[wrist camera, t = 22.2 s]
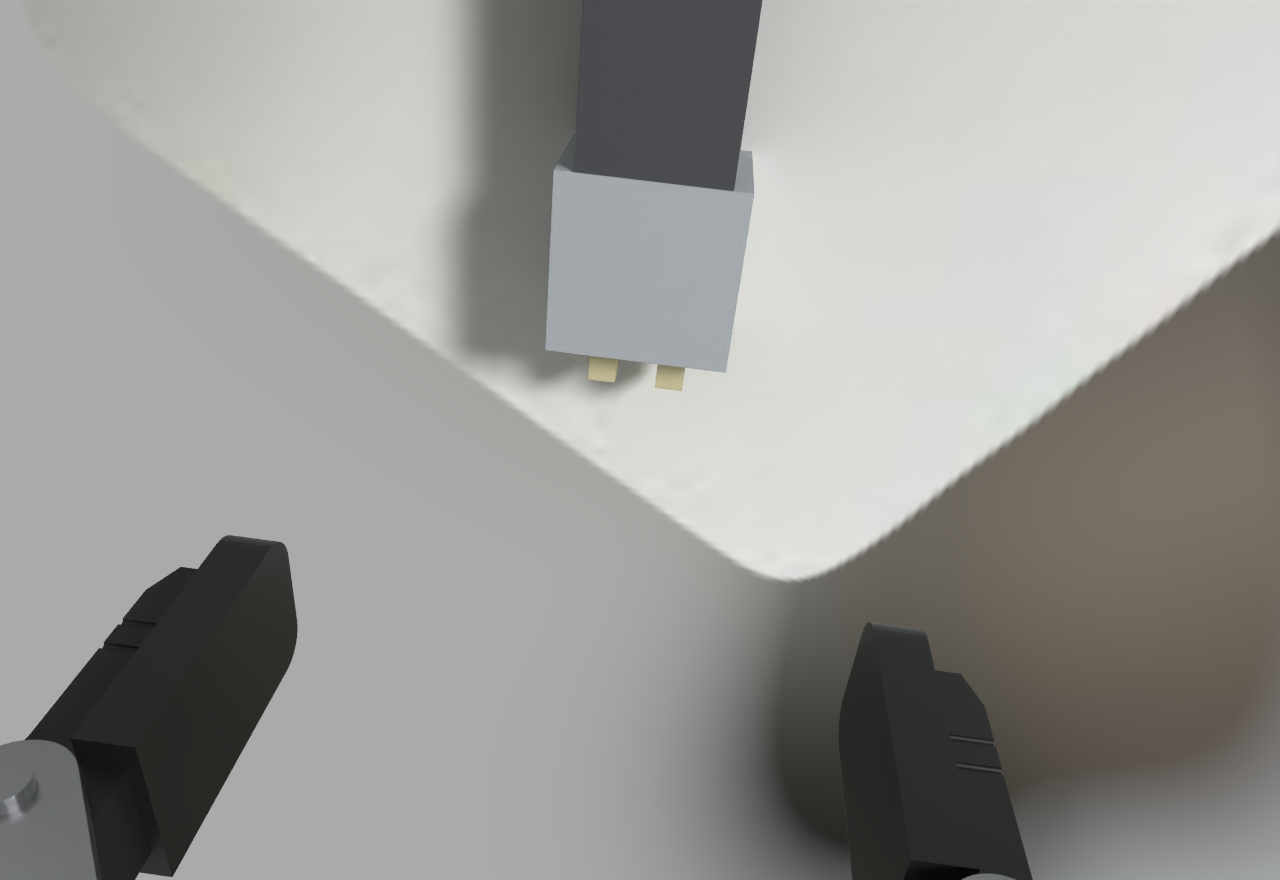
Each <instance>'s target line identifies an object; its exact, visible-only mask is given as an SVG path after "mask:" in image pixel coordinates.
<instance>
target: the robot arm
mask: <svg viewBox="0 0 1280 880" xmlns="http://www.w3.org/2000/svg"><path fill="white" fill-rule="evenodd" d="M296 639H297V617H296V610H295V602H294V595H293V587H292V580H291V573H290V565H289V558H288V552H287V549H286V547H285V545H284V544H283V543H281V542H276V541H269V540H261V539H254V538H245V537H239V536H231V535H228V536H225V537H223V538H222V539H221V540H220V541H219V542H218V543H217V544H216V546H215V547H214V548H213V550H212V551H211V552H210V554H209V555H208V556H207V558H206V559H205V560H204V562H203V563H202V564H201V566H200V567H199V568H198V569H192V568H185V567H180V568H179V569H177V570H176V571H174V572H172V573H171V574H169V575H168V576H166V577H165V578H163V579H162V580H160V581H159V582H157V583H156V584H154V585H153V586H151V587H150V588H148V589H147V590H146V591H145V592H144V593H143V594H142V595H141V597H140V598H139V599H138V601H137V602H136V603H135V604H134V605H133V607H132V608H131V609H130V610H129V612H128V613H127V614H126V615H125V617H124V618H123V622H122V624H121V625H117V627H116V628H115V629H114V630H113V632H112V633H111V634H110V635H109V637H108V638H107V639H106V640H105V642H104V646H103V648H102V649H101V648H99V649H98V650H97V652H96V653H95V654H94V655H93V657H92V658H91V659H90V660H89V661H88V663H87V664H86V665H85V666H84V668H83V669H82V670H81V672H80V673H79V674H78V675H77V676H76V678H75V679H74V680H73V681H72V683H71V684H70V685H69V686H68V688H67V689H66V690H65V691H64V693H63V694H62V695H61V696H60V698H59V699H58V700H57V701H56V703H55V704H54V705H53V706H52V708H51V709H50V710H49V711H48V713H47V714H46V715H45V717H44V718H43V719H42V720H41V721H40V722H39V724H38V725H37V726H36V728H35V729H34V730H33V731H32V733H31V734H30V735H29V736H28V737H27V738H26V739H25V740H23V741H17V742H12V743H8V744H4V745H1V746H0V880H135V879H136V877H137V875H138V874H139V872H141V873H148V874H155V875H162V876H169V877H173V875H174V873H175V871H176V869H177V868H178V866H179V864H180V862H181V861H182V859H183V857H184V855H185V853H186V852H187V850H188V848H189V846H190V844H191V842H192V841H193V839H194V837H195V835H196V833H197V831H198V830H199V828H200V826H201V824H202V823H203V821H204V819H205V817H206V815H207V814H208V812H209V810H210V808H211V806H212V804H213V803H214V801H215V799H216V797H217V796H218V794H219V792H220V790H221V788H222V787H223V785H224V783H225V781H226V779H227V778H228V776H229V774H230V772H231V770H232V769H233V767H234V765H235V763H236V761H237V759H238V758H239V756H240V754H241V752H242V750H243V749H244V747H245V745H246V743H247V741H248V740H249V738H250V736H251V734H252V732H253V730H254V729H255V727H256V725H257V723H258V722H259V720H260V718H261V716H262V714H263V713H264V711H265V709H266V707H267V705H268V704H269V701H270V700H271V698H272V696H273V694H274V693H275V691H276V689H277V687H278V685H279V684H280V682H281V680H282V678H283V676H284V675H285V673H286V671H287V669H288V667H289V665H290V662H291V660H292V657H293V654H294V649H295V645H296ZM993 742H994V739H993V735H992V731H991V728H990V724H989V720H988V717H987V713H986V710H985V706H984V704H983V703H982V702H981V700H980V699H979V698H978V697H977V695H976V694H975V693H974V691H973V690H972V688H971V687H970V686H969V684H968V683H967V682H966V681H965V679H964V678H963V676H962V675H961V674H958V673H950V672H943V671H935V669H934V664H933V660H932V656H931V651H930V647H929V642H928V639H927V635H926V633H925V632H924V630H922V629H914V628H907V627H900V626H892V625H884V624H877V623H870V622H869V623H867V624H866V626H865V628H864V630H863V632H862V635H861V639H860V643H859V646H858V649H857V653H856V656H855V659H854V663H853V667H852V669H851V673H850V676H849V680H848V683H847V687H846V690H845V693H844V697H843V700H842V705H841V711H840V719H839V753H840V762H841V771H842V782H843V792H844V801H845V810H846V821H847V831H848V840H849V850H850V860H851V870H852V878H853V880H1033V879H1032V876H1031V872H1030V869H1029V865H1028V862H1027V858H1026V855H1025V851H1024V847H1023V843H1022V840H1021V836H1020V833H1019V829H1018V825H1017V822H1016V818H1015V815H1014V811H1013V807H1012V804H1011V800H1010V797H1009V793H1008V789H1007V786H1006V782H1005V778H1004V775H1001V764H1000V760H999V757H998V753H997V749H996V747H994V746H993Z"/></svg>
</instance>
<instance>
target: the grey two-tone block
mask: <svg viewBox="0 0 1280 880" xmlns="http://www.w3.org/2000/svg"><path fill="white" fill-rule="evenodd" d="M761 6H762V0H583V18H582V35H581V52H580V69H579V87H578V104H577V121H576V132H575V134H574V136H573V137H572V139H571V141H570V143H569V144H568V146H567V148H566V149H565V151H564V153H563V155H562V156H561V158H560V160H559V161H558V163H557V165H556V167H555V168H554V172H553V193H552V214H551V236H550V257H549V279H548V300H547V321H546V343H545V350H548V351H556V352H564V353H572V354H580V355H588V356H590V357H589V371H588V379H590V380H598V381H606V382H614V383H615V379H616V375H617V370H618V366H619V359H620V360H628V361H636V362H644V363H652V364H658V366H657V374H656V383H655V388H662V389H670V390H678V391H682V386H683V379H684V371H685V368H692V369H700V370H709V371H717V372H725V373H726V367H727V360H728V354H729V348H730V342H731V335H732V329H733V323H734V316H735V310H736V304H737V298H738V291H739V285H740V279H741V273H742V266H743V260H744V254H745V248H746V241H747V235H748V229H749V223H750V216H751V210H752V204H753V198H754V182H753V161H752V151H743V150H740V147H741V141H742V134H743V127H744V120H745V114H746V107H747V100H748V93H749V87H750V80H751V73H752V66H753V60H754V53H755V46H756V39H757V33H758V26H759V19H760V13H761Z"/></svg>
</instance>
